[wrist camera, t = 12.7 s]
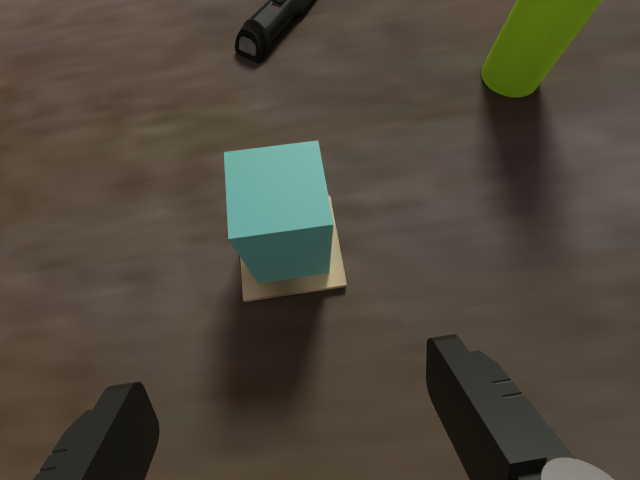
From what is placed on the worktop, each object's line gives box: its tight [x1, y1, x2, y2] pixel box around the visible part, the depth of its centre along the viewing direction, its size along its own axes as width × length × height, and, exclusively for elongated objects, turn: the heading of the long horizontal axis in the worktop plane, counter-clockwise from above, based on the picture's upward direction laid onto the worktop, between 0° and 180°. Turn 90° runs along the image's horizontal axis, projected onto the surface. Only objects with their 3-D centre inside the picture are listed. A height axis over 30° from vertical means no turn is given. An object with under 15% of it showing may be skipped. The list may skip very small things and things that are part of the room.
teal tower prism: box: [224, 141, 333, 283], centre depth 23 cm, size 6×6×9 cm
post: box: [240, 195, 347, 302], centre depth 24 cm, size 8×8×8 cm
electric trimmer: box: [235, 0, 313, 63], centre depth 38 cm, size 4×16×3 cm, turn 149°
